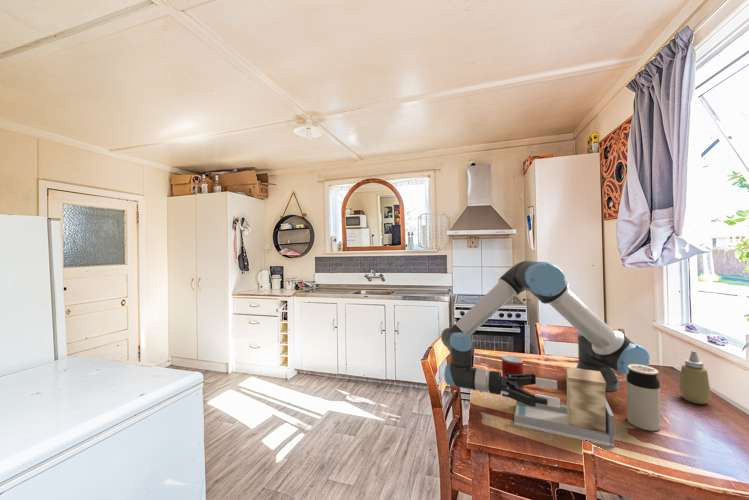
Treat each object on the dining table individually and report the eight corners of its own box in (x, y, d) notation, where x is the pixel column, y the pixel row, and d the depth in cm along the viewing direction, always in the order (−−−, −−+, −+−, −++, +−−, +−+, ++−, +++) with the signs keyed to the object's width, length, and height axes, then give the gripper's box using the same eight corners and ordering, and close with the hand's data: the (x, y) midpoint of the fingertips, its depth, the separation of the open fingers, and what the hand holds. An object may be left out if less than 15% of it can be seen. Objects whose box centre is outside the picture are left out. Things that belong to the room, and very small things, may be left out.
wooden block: (600, 421, 99) (600, 371, 99) (606, 437, 90) (606, 383, 90) (566, 414, 103) (565, 366, 103) (569, 429, 95) (568, 377, 95)
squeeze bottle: (703, 397, 115) (702, 349, 114) (716, 408, 107) (715, 356, 107) (674, 393, 118) (674, 346, 118) (685, 403, 111) (684, 353, 111)
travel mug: (663, 434, 93) (662, 375, 93) (629, 427, 97) (628, 370, 97) (656, 421, 100) (656, 366, 100) (625, 415, 104) (624, 362, 104)
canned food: (525, 389, 124) (525, 362, 124) (504, 388, 126) (504, 361, 125) (520, 381, 131) (520, 355, 131) (500, 379, 133) (500, 354, 133)
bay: (604, 422, 100) (604, 394, 100) (614, 447, 88) (613, 415, 88) (516, 404, 112) (516, 380, 112) (514, 424, 100) (513, 397, 100)
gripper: (493, 378, 121) (556, 389, 111) (484, 408, 99) (561, 425, 89) (493, 359, 121) (555, 368, 111) (483, 385, 98) (561, 399, 89)
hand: (558, 393), depth 100 cm, fingers open, 13 cm apart
